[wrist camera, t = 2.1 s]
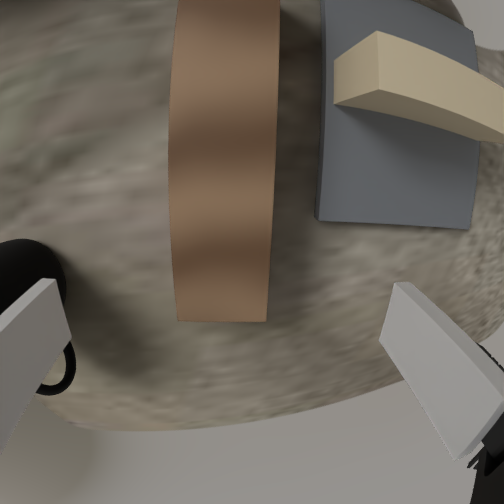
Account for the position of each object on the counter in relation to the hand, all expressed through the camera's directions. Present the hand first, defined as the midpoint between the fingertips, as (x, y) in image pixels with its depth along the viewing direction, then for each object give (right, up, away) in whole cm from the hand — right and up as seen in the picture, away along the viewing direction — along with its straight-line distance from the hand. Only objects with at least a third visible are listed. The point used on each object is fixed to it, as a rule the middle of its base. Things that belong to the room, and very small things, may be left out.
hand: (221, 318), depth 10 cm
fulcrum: (+12, +13, +6) cm, 19 cm away
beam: (-1, +10, +7) cm, 12 cm away
